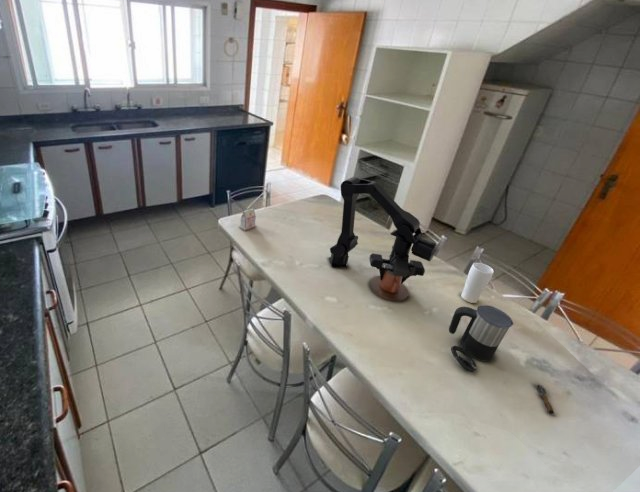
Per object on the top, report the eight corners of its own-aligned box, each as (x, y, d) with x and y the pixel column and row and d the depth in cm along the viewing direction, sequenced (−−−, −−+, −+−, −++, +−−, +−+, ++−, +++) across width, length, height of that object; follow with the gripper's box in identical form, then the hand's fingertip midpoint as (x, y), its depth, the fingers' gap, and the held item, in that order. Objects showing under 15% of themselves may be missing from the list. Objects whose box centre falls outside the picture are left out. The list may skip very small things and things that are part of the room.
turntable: (377, 301, 124) (378, 299, 123) (364, 277, 136) (365, 275, 136) (414, 302, 124) (414, 300, 124) (397, 278, 137) (398, 276, 136)
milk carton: (240, 227, 167) (241, 210, 163) (250, 223, 171) (251, 206, 167) (244, 230, 165) (245, 213, 160) (254, 226, 169) (256, 209, 164)
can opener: (553, 414, 87) (555, 412, 87) (542, 410, 88) (544, 407, 88) (543, 387, 95) (545, 384, 94) (533, 383, 96) (535, 380, 95)
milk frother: (488, 342, 108) (506, 309, 102) (506, 384, 95) (528, 349, 88) (440, 330, 112) (455, 297, 106) (451, 368, 99) (468, 333, 92)
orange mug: (378, 279, 133) (383, 260, 129) (397, 282, 132) (403, 264, 128) (381, 294, 125) (387, 275, 121) (401, 298, 124) (408, 278, 120)
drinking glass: (482, 306, 124) (497, 275, 117) (462, 303, 125) (477, 271, 118) (474, 294, 130) (489, 263, 123) (455, 291, 131) (469, 260, 124)
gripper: (377, 256, 116) (367, 290, 123) (434, 266, 113) (421, 300, 120) (374, 239, 126) (365, 272, 133) (426, 248, 122) (414, 281, 129)
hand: (390, 281), depth 128 cm, fingers closed on orange mug, 7 cm apart
